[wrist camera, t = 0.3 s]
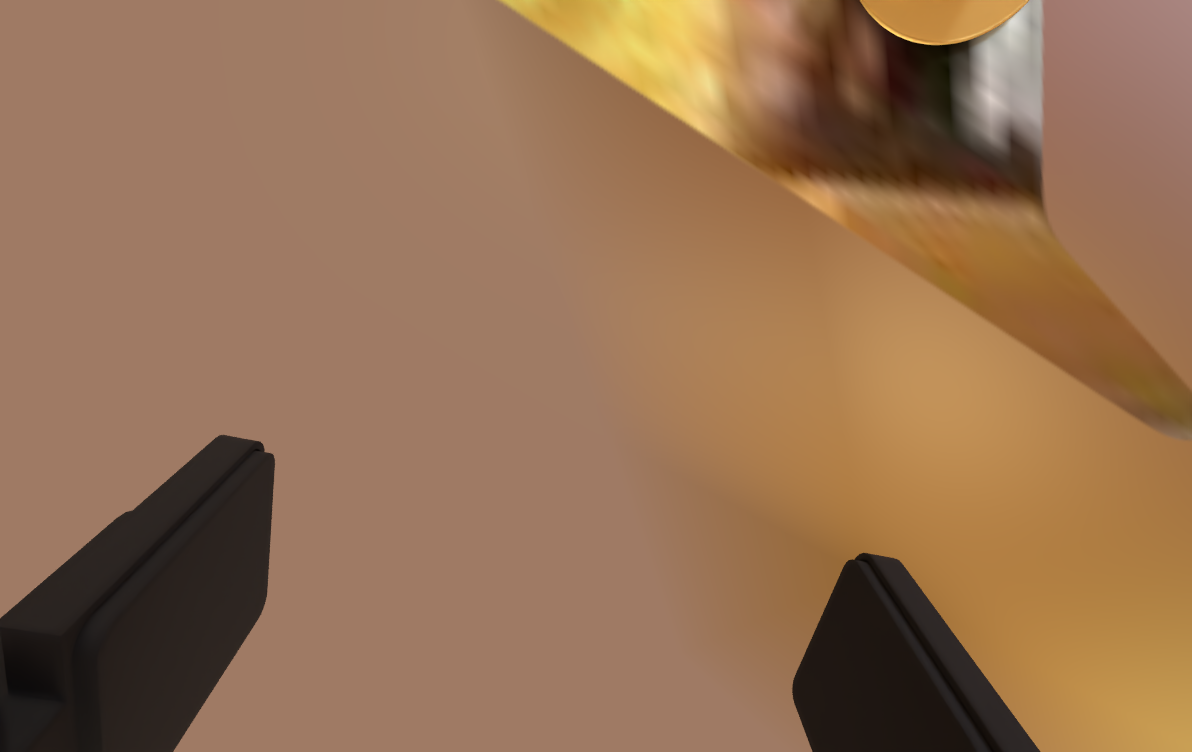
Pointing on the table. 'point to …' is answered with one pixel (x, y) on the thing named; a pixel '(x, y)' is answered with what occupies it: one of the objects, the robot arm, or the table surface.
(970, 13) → the cup
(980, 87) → the table surface
